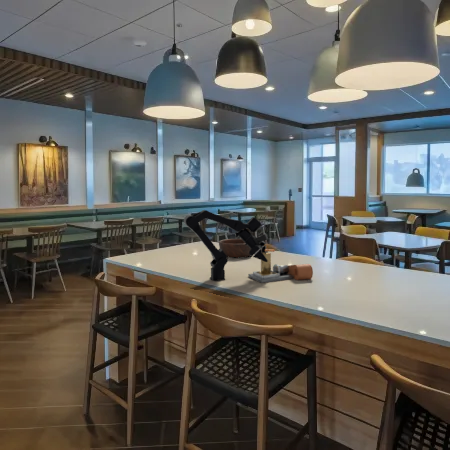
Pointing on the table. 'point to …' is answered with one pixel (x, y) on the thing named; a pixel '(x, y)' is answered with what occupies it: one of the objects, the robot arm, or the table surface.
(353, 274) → the table surface
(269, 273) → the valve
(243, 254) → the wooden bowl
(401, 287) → the table surface
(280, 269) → the socket plate
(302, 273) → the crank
